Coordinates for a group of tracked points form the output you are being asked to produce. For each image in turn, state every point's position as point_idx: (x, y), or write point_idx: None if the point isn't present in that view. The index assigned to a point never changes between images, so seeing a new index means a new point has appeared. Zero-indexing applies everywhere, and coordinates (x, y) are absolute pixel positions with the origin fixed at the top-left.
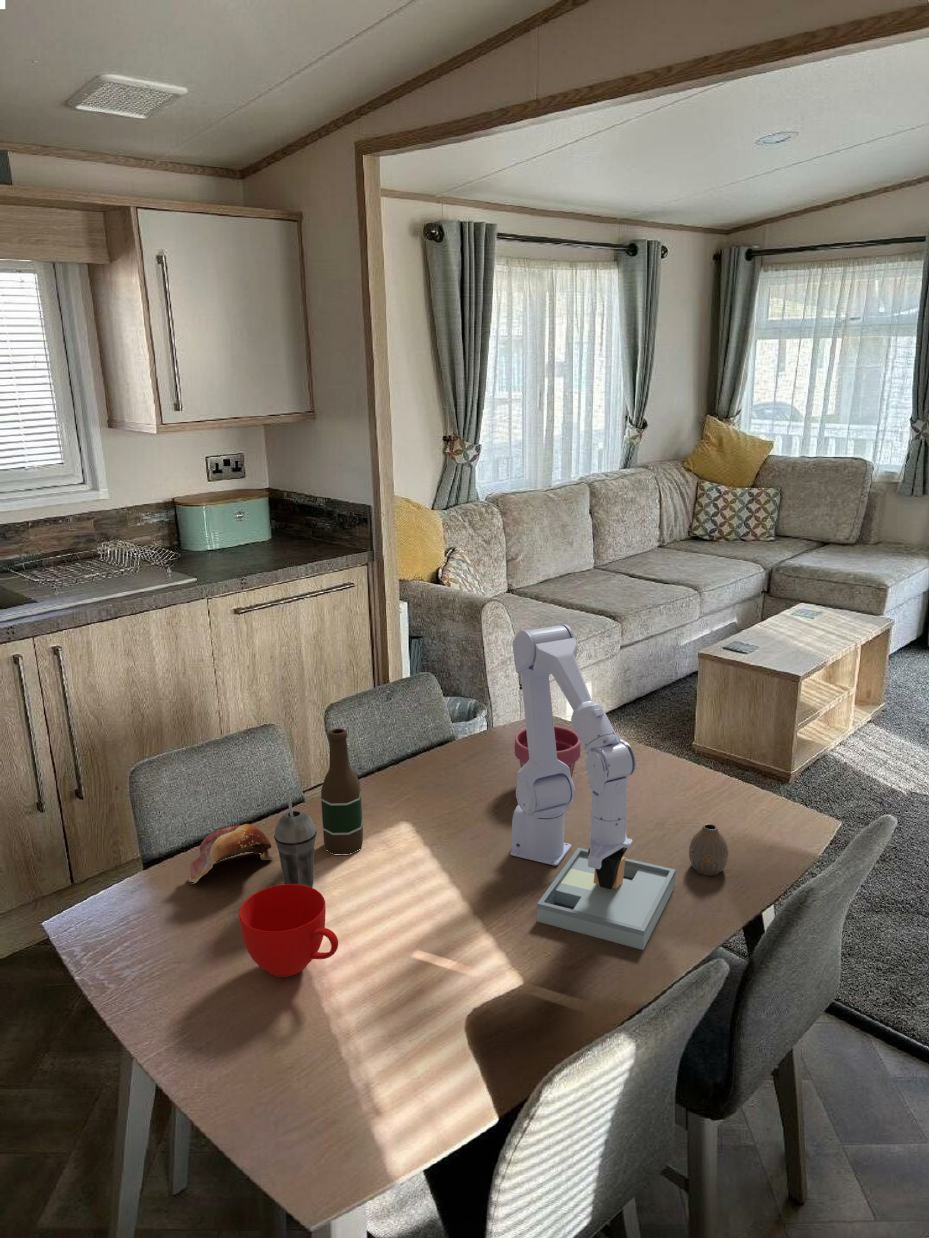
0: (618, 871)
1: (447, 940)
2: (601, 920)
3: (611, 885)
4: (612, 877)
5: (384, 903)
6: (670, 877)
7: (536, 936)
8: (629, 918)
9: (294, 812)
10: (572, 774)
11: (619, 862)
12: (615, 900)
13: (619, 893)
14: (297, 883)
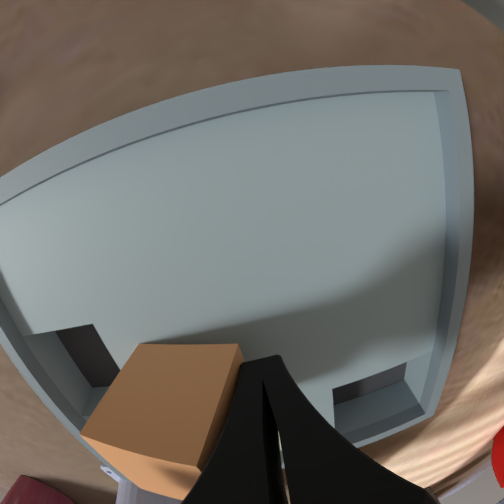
0: (204, 412)
1: (479, 403)
2: (469, 252)
3: (284, 367)
4: (310, 403)
5: (418, 474)
6: None
7: (457, 345)
8: (381, 172)
9: None
10: (9, 496)
11: (251, 479)
12: (284, 299)
13: (219, 316)
14: (437, 499)
